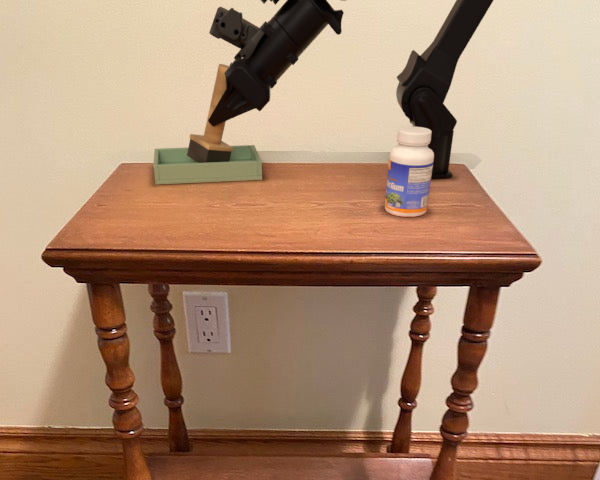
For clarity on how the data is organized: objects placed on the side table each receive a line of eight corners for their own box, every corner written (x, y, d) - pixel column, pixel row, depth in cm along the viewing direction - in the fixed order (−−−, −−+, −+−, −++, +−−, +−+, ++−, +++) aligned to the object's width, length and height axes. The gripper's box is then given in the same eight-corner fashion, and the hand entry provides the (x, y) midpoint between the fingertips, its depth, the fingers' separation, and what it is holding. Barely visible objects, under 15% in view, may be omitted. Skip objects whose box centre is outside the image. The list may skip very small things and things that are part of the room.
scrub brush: (228, 168, 93) (251, 74, 86) (204, 167, 90) (226, 69, 83) (209, 157, 95) (230, 64, 89) (185, 155, 92) (205, 59, 85)
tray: (254, 162, 98) (254, 144, 97) (262, 179, 91) (261, 161, 89) (156, 166, 96) (154, 148, 95) (155, 184, 89) (153, 165, 87)
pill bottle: (377, 206, 81) (383, 126, 75) (413, 202, 83) (422, 123, 77) (396, 220, 77) (404, 136, 71) (435, 215, 78) (446, 132, 73)
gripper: (248, -20, 88) (177, 67, 94) (239, -16, 73) (155, 88, 79) (303, 44, 92) (232, 123, 99) (305, 61, 77) (221, 154, 83)
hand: (211, 121), depth 90 cm, fingers closed on scrub brush, 3 cm apart
